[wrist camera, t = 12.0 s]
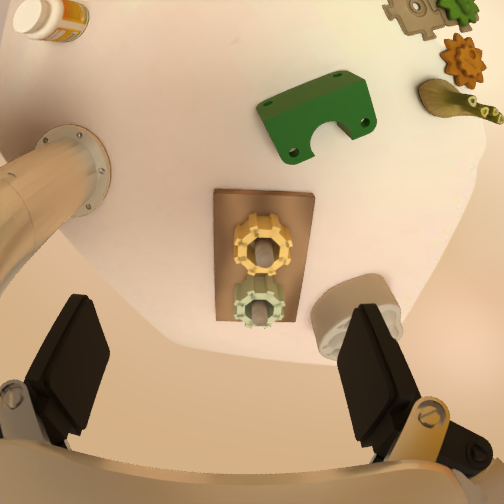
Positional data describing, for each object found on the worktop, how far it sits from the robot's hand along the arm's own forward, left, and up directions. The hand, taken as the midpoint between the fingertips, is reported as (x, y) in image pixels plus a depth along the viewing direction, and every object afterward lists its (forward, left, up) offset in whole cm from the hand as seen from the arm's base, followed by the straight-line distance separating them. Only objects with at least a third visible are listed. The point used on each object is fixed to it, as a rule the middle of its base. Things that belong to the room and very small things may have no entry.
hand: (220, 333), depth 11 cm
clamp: (+8, +5, -29) cm, 30 cm away
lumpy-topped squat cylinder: (+18, -23, -29) cm, 41 cm away
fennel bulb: (+24, +10, -28) cm, 39 cm away
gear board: (+4, -15, -28) cm, 32 cm away
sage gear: (+4, -19, -27) cm, 33 cm away
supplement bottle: (-21, +18, -28) cm, 40 cm away
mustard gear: (+3, -11, -27) cm, 29 cm away
